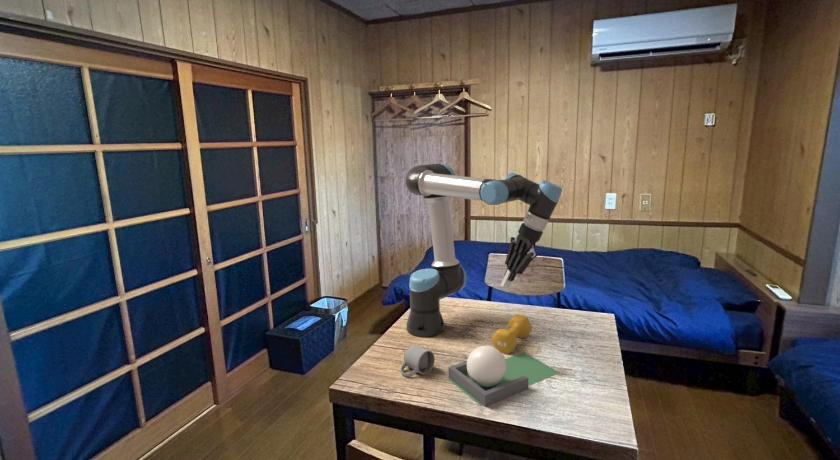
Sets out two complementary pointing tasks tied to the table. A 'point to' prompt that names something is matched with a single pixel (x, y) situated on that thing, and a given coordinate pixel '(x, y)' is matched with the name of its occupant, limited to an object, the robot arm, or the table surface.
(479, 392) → the grey open tray
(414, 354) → the ceramic mug
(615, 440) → the table surface
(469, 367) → the ball
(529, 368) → the green mat
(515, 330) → the dumbbell
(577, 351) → the table surface
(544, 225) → the robot arm
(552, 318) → the table surface
